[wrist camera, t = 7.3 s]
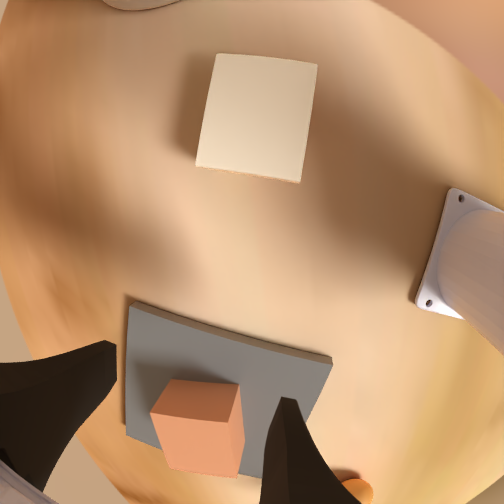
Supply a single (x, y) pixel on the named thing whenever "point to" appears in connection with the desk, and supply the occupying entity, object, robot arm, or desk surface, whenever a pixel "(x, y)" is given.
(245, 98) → the cream brick
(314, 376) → the baseplate
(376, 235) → the desk surface
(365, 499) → the figurine
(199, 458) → the terracotta brick
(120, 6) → the cylinder vase
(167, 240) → the desk surface
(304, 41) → the desk surface
